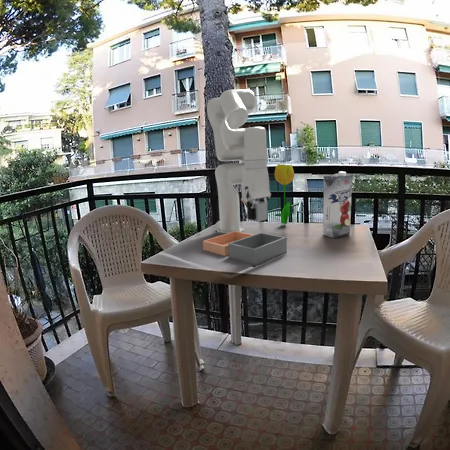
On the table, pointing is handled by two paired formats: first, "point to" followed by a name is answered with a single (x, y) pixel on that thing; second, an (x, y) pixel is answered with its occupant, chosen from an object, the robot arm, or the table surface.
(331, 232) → the juice carton
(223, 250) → the trough
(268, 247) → the bin
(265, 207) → the block
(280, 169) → the flower
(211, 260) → the table surface
